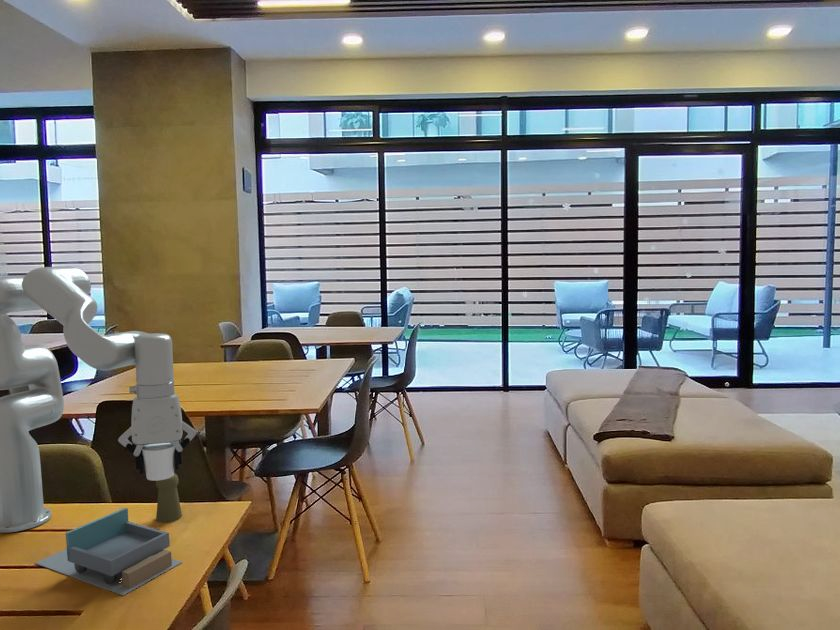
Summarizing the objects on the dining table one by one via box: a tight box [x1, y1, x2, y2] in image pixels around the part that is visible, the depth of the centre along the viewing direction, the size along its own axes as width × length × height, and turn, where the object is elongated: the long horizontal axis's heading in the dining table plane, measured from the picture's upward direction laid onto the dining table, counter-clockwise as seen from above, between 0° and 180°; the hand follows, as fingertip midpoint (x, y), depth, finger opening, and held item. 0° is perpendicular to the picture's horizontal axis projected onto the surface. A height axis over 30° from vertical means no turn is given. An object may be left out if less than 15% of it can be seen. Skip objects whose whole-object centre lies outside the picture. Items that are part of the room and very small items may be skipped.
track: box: [34, 548, 183, 597], centre depth 129 cm, size 28×14×3 cm, turn 63°
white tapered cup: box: [142, 442, 176, 482], centre depth 136 cm, size 7×7×7 cm
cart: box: [65, 507, 171, 584], centre depth 127 cm, size 14×14×8 cm
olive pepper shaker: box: [155, 472, 183, 524], centre depth 151 cm, size 6×6×11 cm
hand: (159, 469), depth 136 cm, fingers closed on white tapered cup, 6 cm apart
